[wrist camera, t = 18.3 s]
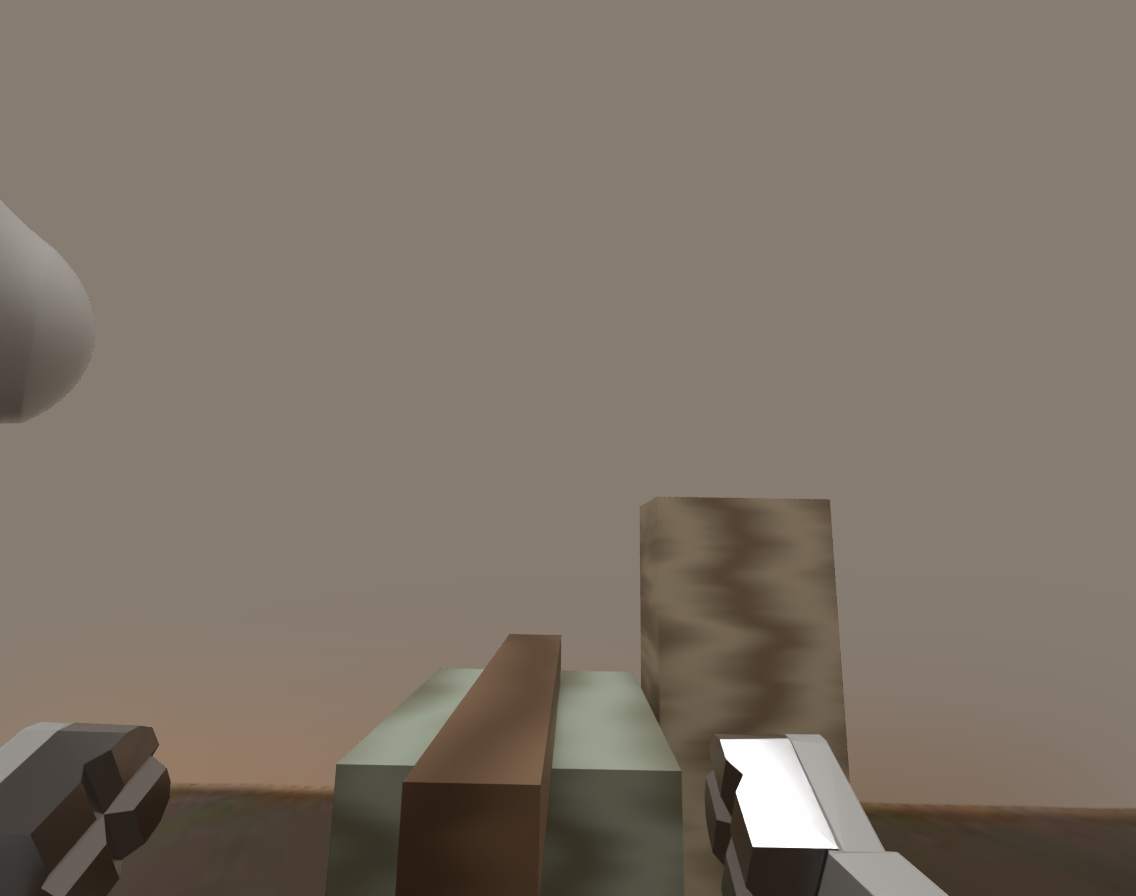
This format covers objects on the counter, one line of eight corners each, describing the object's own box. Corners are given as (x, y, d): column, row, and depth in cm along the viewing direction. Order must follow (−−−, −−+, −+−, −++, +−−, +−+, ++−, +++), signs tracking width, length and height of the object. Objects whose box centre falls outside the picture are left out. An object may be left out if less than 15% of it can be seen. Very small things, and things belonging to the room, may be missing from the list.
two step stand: (287, 1332, 16) (361, 465, 21) (440, 909, 35) (461, 503, 39) (1069, 1355, 16) (966, 474, 20) (799, 917, 35) (777, 508, 39)
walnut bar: (394, 912, 11) (402, 782, 12) (507, 680, 31) (509, 634, 31) (537, 916, 11) (540, 784, 12) (560, 680, 31) (561, 635, 31)
